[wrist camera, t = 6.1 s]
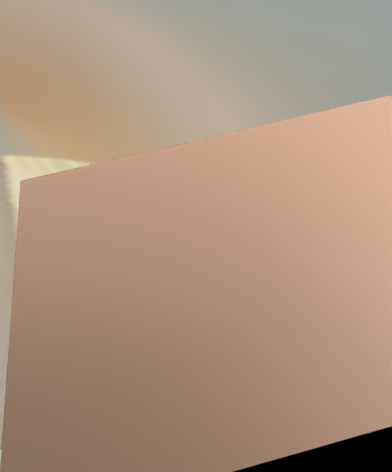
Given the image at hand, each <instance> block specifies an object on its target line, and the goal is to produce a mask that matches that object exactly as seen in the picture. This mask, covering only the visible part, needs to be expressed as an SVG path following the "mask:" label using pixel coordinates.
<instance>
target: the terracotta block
mask: <svg viewBox="0 0 392 472" xmlns="http://www.w3.org/2000/svg"><path fill="white" fill-rule="evenodd" d="M0 472H392V95H390V96H386V97H382V98H378V99H373V100H369V101H364V102H360V103H356V104H351V105H347V106H343V107H338V108H334V109H330V110H325V111H321V112H317V113H313V114H309V115H304V116H300V117H295V118H291V119H287V120H283V121H278V122H274V123H269V124H265V125H261V126H256V127H252V128H248V129H243V130H239V131H235V132H230V133H226V134H222V135H217V136H213V137H209V138H204V139H200V140H196V141H191V142H187V143H183V144H178V145H174V146H170V147H166V148H161V149H157V150H153V151H148V152H144V153H140V154H135V155H131V156H127V157H122V158H119V159H114V160H110V161H105V162H101V163H96V164H92V165H88V166H83V167H79V168H75V169H70V170H66V171H62V172H57V173H53V174H49V175H44V176H40V177H36V178H31V179H27V180H23V181H21V184H20V198H19V212H18V226H17V240H16V254H15V268H14V282H13V296H12V310H11V324H10V338H9V352H8V366H7V380H6V394H5V407H4V421H3V435H2V449H1V463H0Z"/></svg>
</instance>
